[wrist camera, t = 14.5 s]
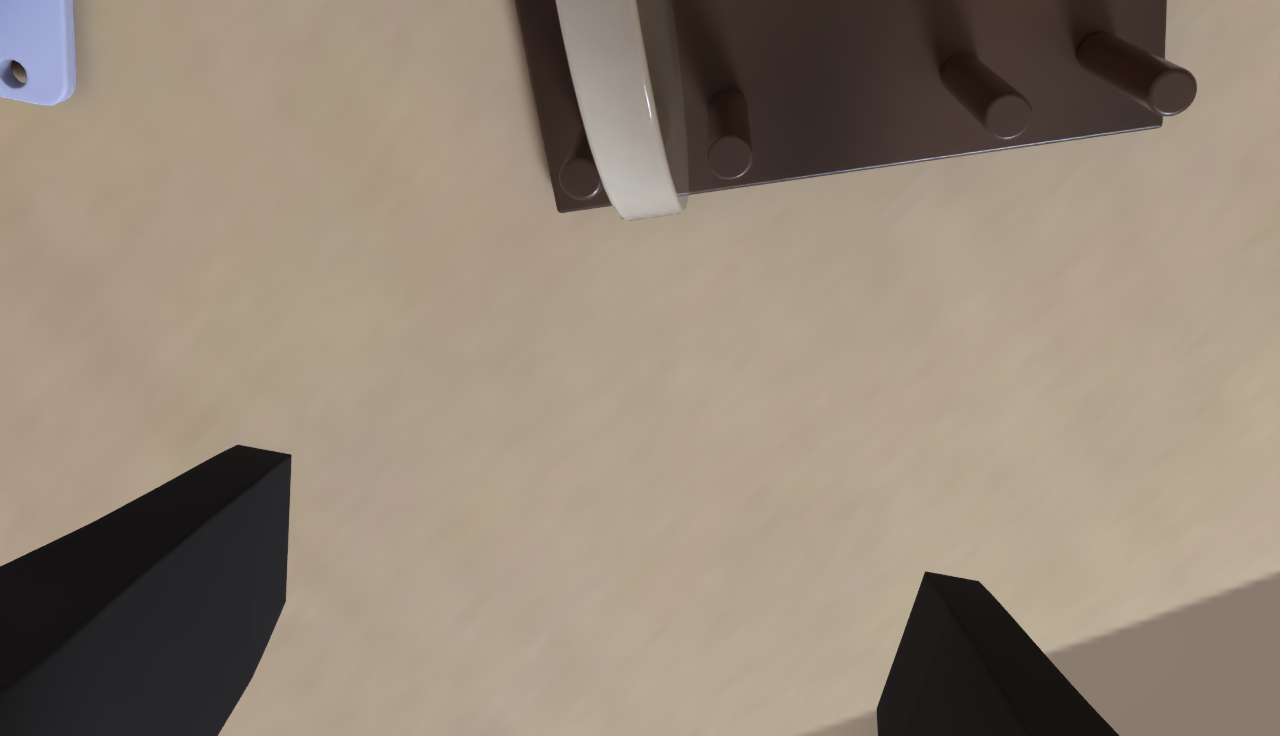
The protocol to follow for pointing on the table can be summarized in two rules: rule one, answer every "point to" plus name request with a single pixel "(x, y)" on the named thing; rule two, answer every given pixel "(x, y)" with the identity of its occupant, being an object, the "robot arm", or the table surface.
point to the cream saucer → (630, 100)
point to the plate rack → (874, 84)
